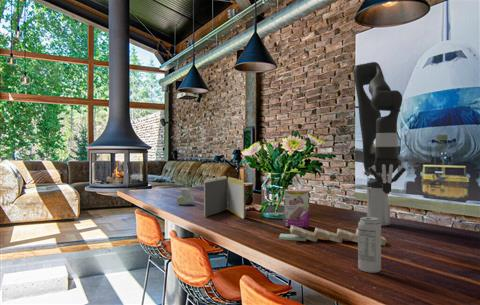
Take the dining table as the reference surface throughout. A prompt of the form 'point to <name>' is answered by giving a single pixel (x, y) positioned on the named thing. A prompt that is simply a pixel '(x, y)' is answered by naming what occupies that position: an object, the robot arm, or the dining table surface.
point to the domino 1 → (291, 237)
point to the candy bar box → (296, 208)
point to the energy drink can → (369, 245)
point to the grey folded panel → (224, 196)
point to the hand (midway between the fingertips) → (386, 193)
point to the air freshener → (185, 197)
